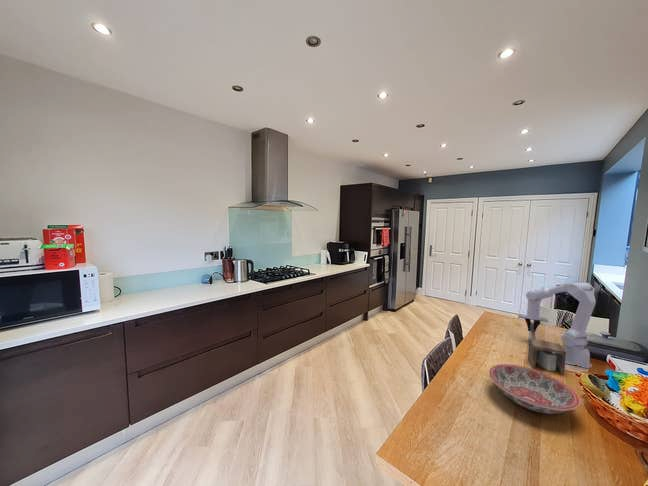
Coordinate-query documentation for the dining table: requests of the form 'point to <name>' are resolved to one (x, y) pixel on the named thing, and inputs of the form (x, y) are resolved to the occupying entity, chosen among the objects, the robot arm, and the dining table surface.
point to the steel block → (532, 331)
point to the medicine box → (546, 360)
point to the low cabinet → (548, 347)
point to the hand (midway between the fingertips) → (531, 331)
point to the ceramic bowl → (534, 389)
